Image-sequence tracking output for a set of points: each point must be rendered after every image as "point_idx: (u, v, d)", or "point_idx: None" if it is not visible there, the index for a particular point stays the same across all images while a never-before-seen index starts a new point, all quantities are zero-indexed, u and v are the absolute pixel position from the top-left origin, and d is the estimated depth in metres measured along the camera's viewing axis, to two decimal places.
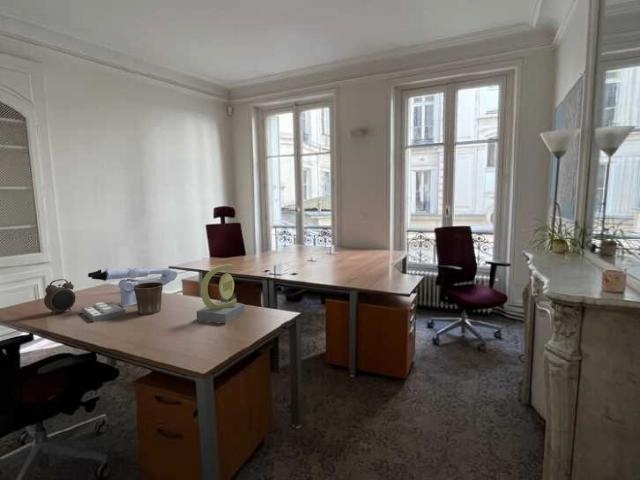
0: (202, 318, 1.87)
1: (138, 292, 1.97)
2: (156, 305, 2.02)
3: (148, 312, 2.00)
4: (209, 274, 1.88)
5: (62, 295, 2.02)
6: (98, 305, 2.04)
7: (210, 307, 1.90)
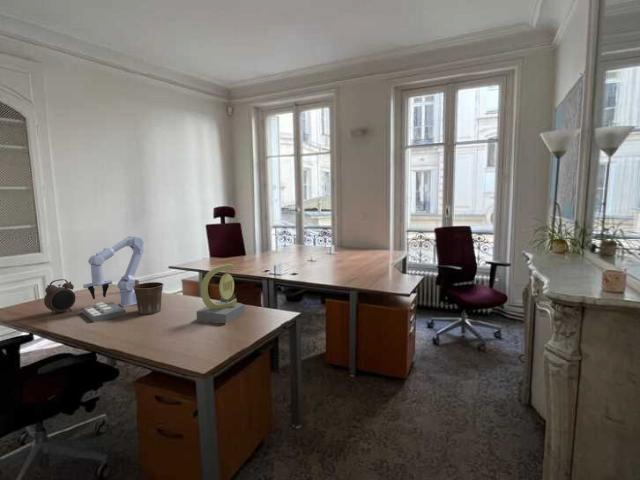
0: (202, 318, 1.87)
1: (138, 292, 1.97)
2: (156, 305, 2.02)
3: (148, 312, 2.00)
4: (209, 274, 1.88)
5: (62, 295, 2.02)
6: (98, 305, 2.04)
7: (210, 307, 1.90)
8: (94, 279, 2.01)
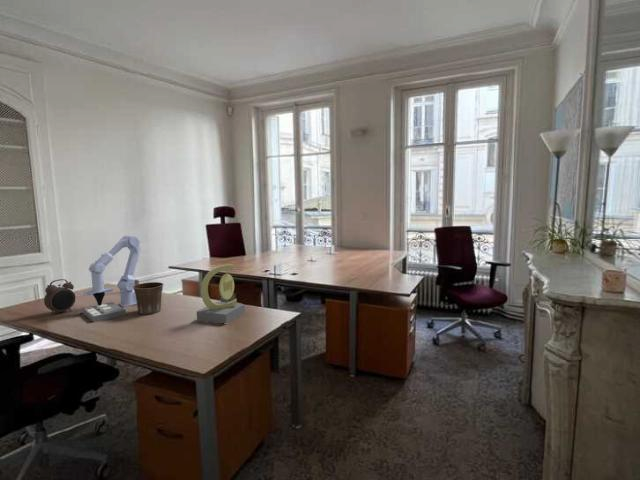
0: (202, 318, 1.87)
1: (138, 292, 1.97)
2: (156, 305, 2.02)
3: (148, 312, 2.00)
4: (209, 274, 1.88)
5: (62, 295, 2.02)
6: (98, 307, 2.04)
7: (210, 307, 1.90)
8: (95, 287, 2.02)
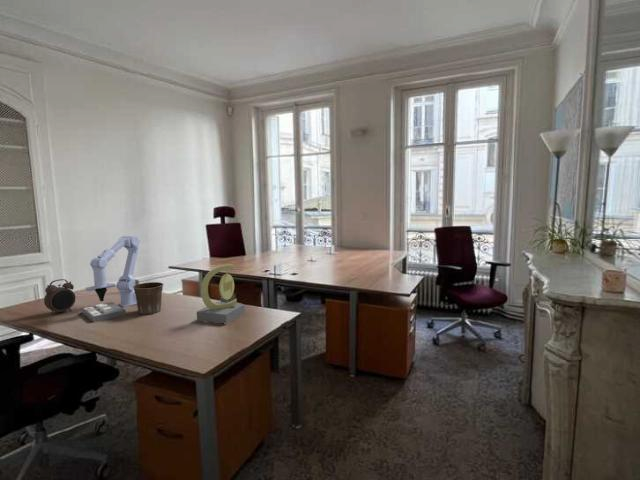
0: (202, 318, 1.87)
1: (138, 292, 1.97)
2: (156, 305, 2.02)
3: (148, 312, 2.00)
4: (209, 274, 1.87)
5: (62, 295, 2.02)
6: (98, 307, 2.04)
7: (210, 307, 1.90)
8: (96, 282, 1.98)
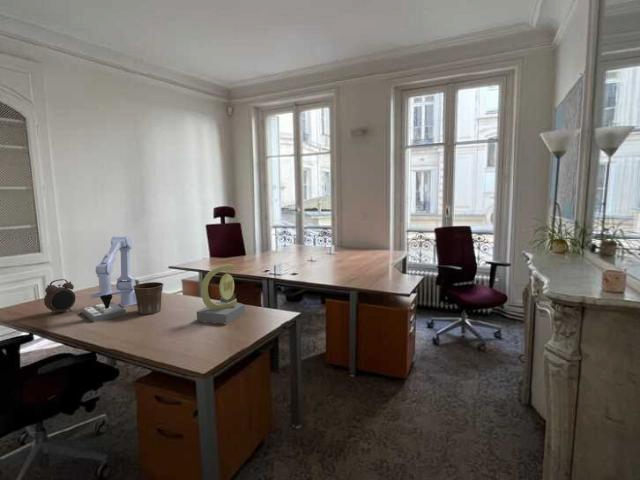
0: (202, 318, 1.87)
1: (138, 292, 1.97)
2: (156, 305, 2.02)
3: (148, 312, 2.00)
4: (209, 274, 1.87)
5: (62, 295, 2.02)
6: (98, 307, 2.04)
7: (210, 307, 1.89)
8: (102, 289, 1.92)
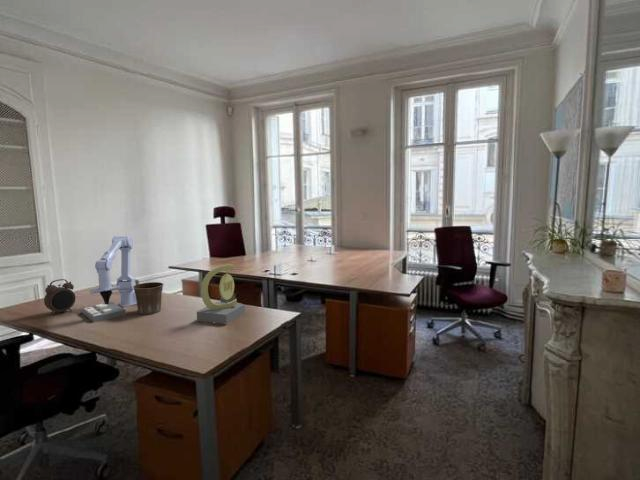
0: (202, 318, 1.86)
1: (138, 292, 1.97)
2: (156, 305, 2.02)
3: (148, 312, 2.00)
4: (209, 274, 1.87)
5: (62, 295, 2.02)
6: (98, 307, 2.04)
7: (210, 308, 1.89)
8: (101, 284, 1.92)
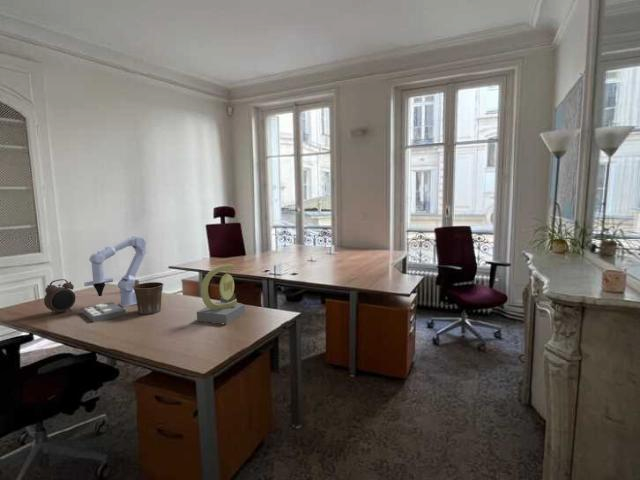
0: (202, 318, 1.86)
1: (138, 292, 1.97)
2: (156, 305, 2.02)
3: (148, 312, 2.00)
4: (209, 274, 1.87)
5: (62, 295, 2.02)
6: (98, 307, 2.04)
7: (210, 308, 1.89)
8: (95, 277, 2.03)
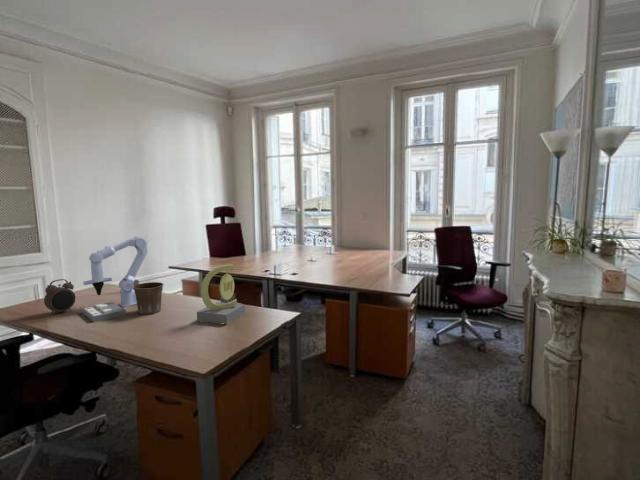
0: (203, 318, 1.86)
1: (138, 292, 1.97)
2: (156, 305, 2.02)
3: (148, 312, 2.00)
4: (209, 274, 1.87)
5: (62, 295, 2.02)
6: (98, 307, 2.04)
7: (210, 308, 1.89)
8: (94, 276, 2.05)
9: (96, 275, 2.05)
